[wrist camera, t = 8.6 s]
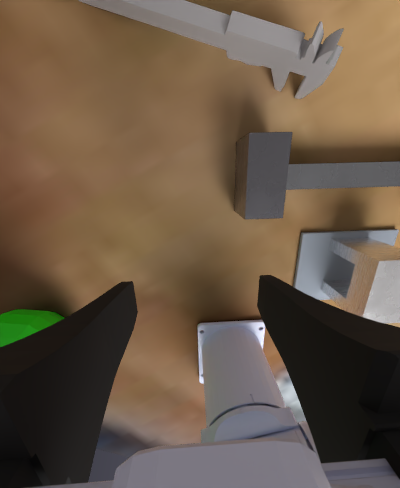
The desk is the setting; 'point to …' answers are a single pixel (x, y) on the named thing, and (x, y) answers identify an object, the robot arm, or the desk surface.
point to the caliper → (240, 38)
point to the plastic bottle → (24, 323)
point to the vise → (293, 174)
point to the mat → (329, 258)
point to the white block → (367, 279)
